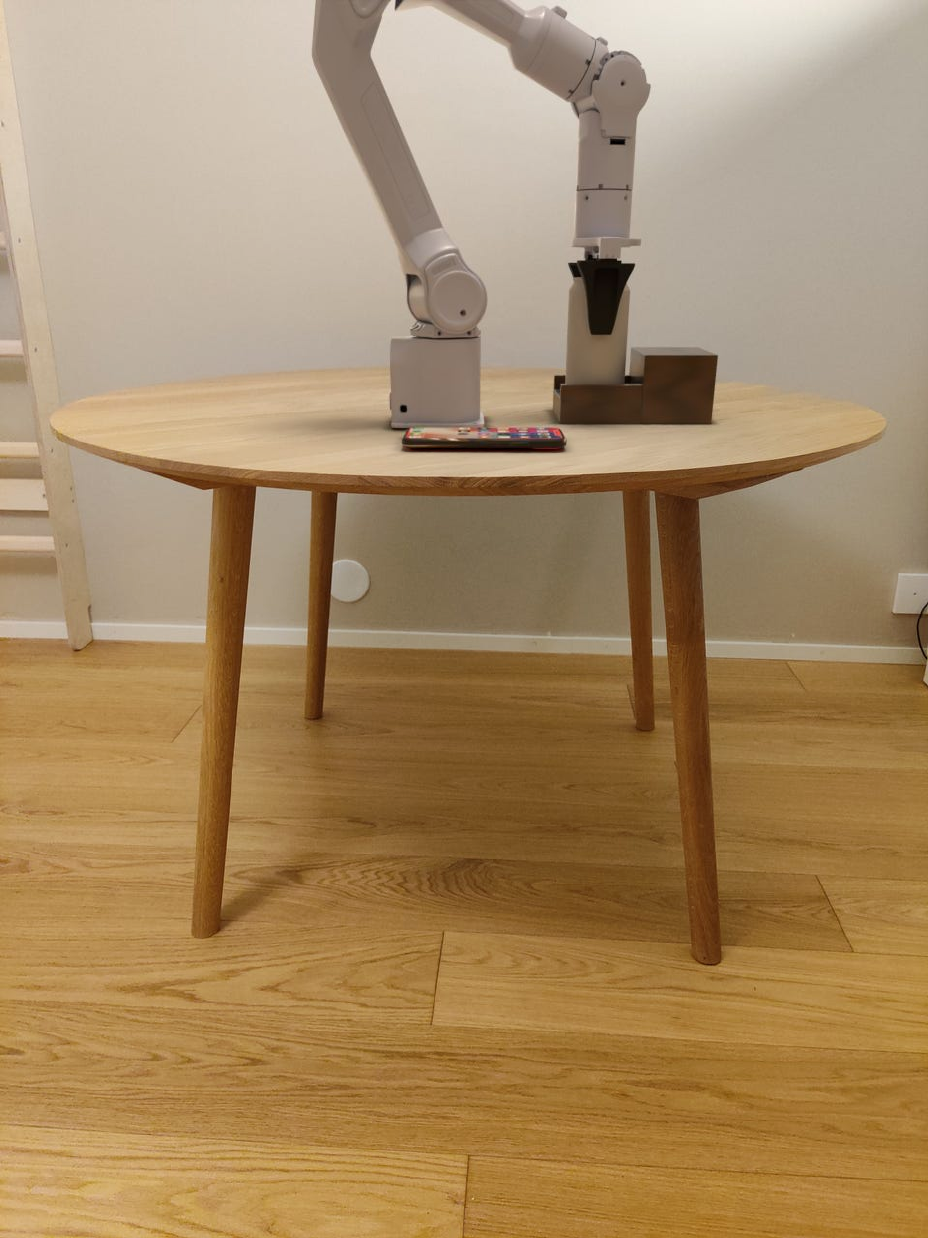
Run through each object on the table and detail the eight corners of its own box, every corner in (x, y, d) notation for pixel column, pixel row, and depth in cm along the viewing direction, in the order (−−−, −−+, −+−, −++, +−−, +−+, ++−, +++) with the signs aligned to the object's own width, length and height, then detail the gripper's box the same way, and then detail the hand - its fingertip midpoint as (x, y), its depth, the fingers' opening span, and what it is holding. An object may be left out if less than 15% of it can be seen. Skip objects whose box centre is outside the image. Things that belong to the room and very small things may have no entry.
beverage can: (628, 391, 102) (635, 275, 98) (618, 398, 97) (625, 276, 92) (572, 388, 104) (576, 275, 100) (558, 395, 98) (563, 276, 94)
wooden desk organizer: (559, 423, 97) (562, 354, 95) (552, 410, 105) (554, 346, 103) (711, 423, 97) (718, 355, 94) (692, 410, 105) (698, 347, 103)
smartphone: (406, 426, 90) (561, 426, 89) (406, 436, 90) (560, 436, 90) (400, 438, 83) (567, 439, 82) (400, 449, 83) (567, 450, 83)
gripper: (656, 186, 86) (645, 337, 91) (631, 196, 100) (623, 327, 105) (581, 186, 86) (574, 337, 91) (566, 195, 100) (561, 326, 105)
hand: (596, 331), depth 98 cm, fingers open, 7 cm apart
